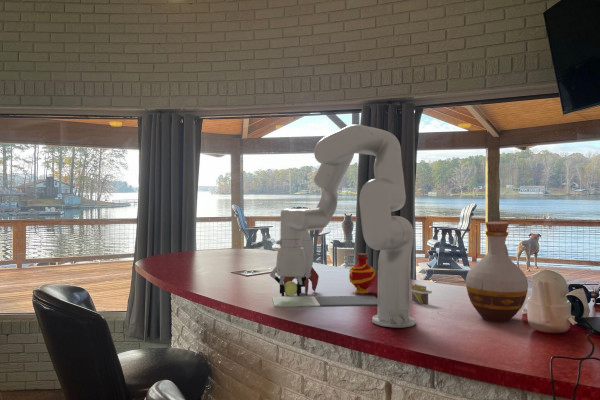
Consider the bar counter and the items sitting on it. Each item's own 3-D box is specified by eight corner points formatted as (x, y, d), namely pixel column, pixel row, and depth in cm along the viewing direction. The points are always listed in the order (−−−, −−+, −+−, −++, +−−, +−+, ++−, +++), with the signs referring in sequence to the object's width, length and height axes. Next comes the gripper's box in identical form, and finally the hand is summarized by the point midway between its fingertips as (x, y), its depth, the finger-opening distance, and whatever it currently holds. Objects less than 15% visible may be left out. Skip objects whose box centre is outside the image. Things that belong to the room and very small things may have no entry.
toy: (282, 293, 185) (283, 215, 185) (295, 289, 194) (296, 214, 194) (308, 296, 180) (308, 216, 180) (320, 291, 189) (321, 215, 189)
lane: (384, 305, 166) (384, 303, 166) (274, 306, 162) (274, 305, 162) (373, 297, 180) (373, 295, 180) (272, 298, 176) (272, 296, 176)
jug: (478, 308, 163) (479, 219, 163) (535, 317, 152) (537, 221, 151) (456, 319, 148) (457, 221, 148) (518, 329, 136) (519, 224, 136)
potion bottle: (374, 295, 184) (375, 255, 184) (347, 293, 186) (347, 254, 186) (375, 290, 194) (376, 252, 194) (350, 288, 196) (350, 252, 196)
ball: (298, 296, 167) (298, 282, 167) (283, 296, 167) (284, 282, 167) (296, 294, 172) (296, 280, 172) (282, 294, 172) (283, 280, 172)
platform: (423, 310, 160) (423, 291, 160) (388, 300, 176) (388, 282, 176) (449, 307, 166) (449, 288, 166) (413, 297, 182) (413, 280, 182)
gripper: (267, 244, 165) (266, 298, 165) (316, 244, 167) (315, 297, 167) (266, 242, 172) (265, 293, 172) (313, 242, 174) (312, 293, 174)
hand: (290, 295), depth 169 cm, fingers closed on ball, 4 cm apart
